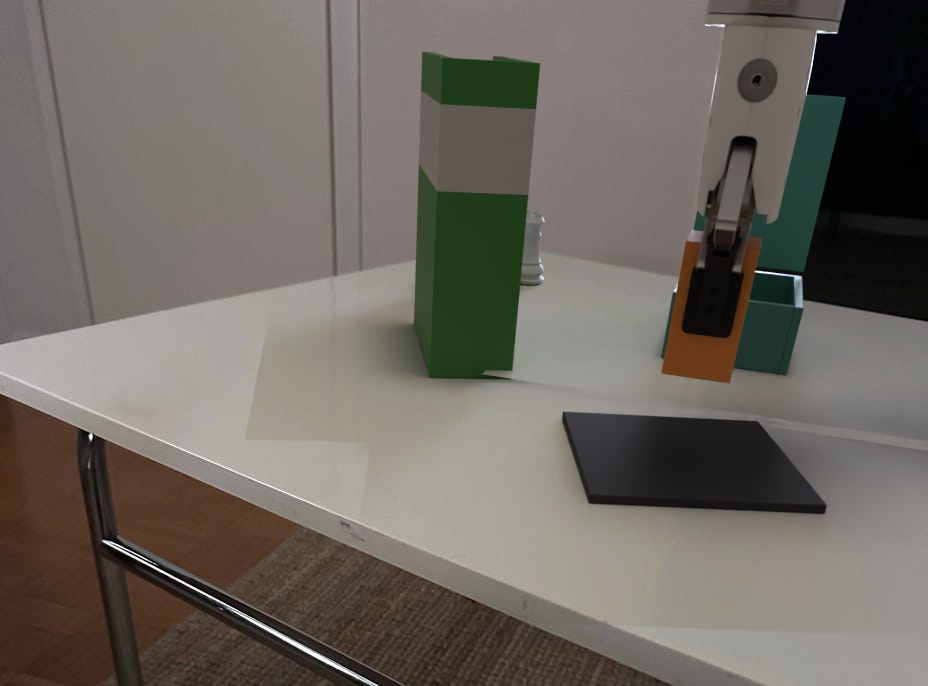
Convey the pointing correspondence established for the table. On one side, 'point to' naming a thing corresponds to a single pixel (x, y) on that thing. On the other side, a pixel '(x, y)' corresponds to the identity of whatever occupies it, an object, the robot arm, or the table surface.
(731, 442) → the mat
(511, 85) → the green and white box
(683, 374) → the carton
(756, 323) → the lunchbox
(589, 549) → the table surface
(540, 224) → the rook chess piece
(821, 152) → the lunchbox lid
